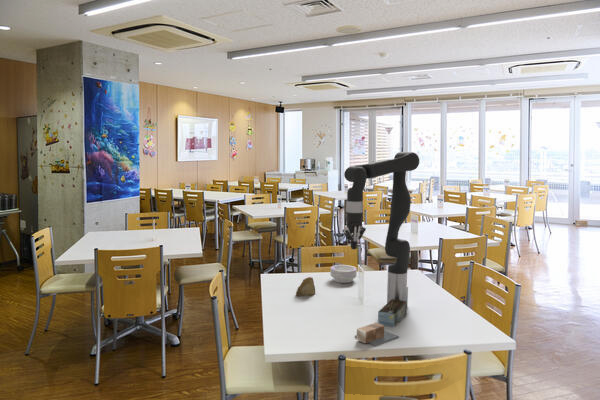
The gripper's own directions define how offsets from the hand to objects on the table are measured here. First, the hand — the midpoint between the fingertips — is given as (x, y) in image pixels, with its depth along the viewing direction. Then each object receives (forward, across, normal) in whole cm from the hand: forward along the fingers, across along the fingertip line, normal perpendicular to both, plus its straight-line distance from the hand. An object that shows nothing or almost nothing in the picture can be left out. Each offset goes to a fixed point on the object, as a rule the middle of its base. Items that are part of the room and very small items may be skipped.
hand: (353, 248), depth 206 cm
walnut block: (+28, -8, -24) cm, 38 cm away
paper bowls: (+31, +36, +44) cm, 65 cm away
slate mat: (+31, -10, -24) cm, 40 cm away
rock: (+31, +2, +37) cm, 49 cm away
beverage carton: (+32, +12, -14) cm, 36 cm away
